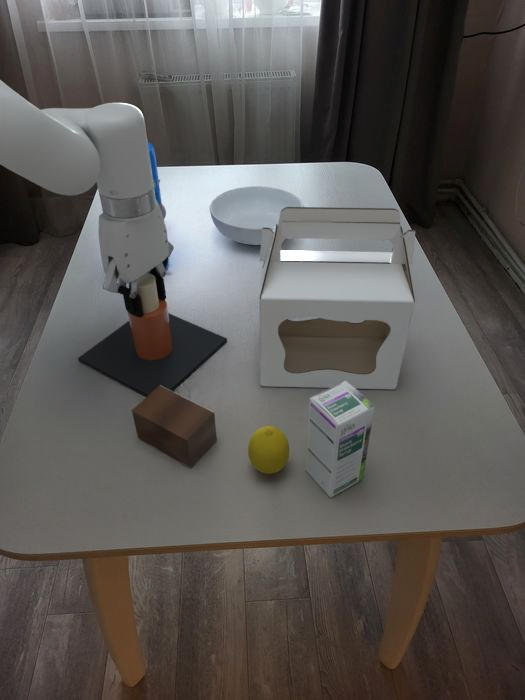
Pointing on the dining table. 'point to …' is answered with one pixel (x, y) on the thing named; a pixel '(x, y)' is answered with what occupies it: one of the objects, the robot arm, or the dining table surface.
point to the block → (175, 425)
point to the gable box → (335, 300)
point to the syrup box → (338, 437)
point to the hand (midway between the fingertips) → (146, 304)
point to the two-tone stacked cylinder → (151, 322)
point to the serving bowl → (250, 211)
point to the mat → (147, 375)
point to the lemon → (268, 449)
